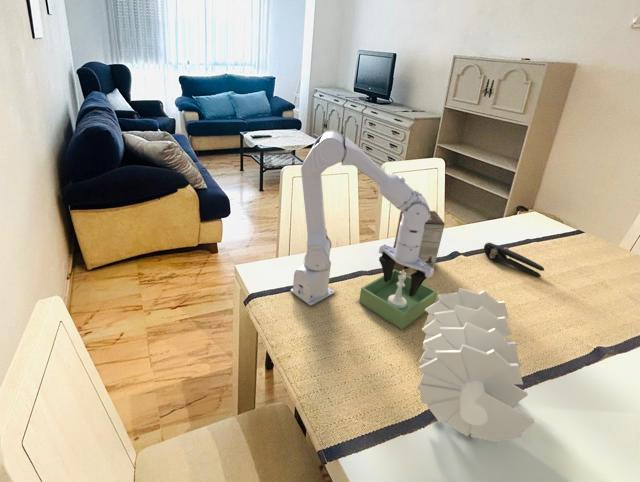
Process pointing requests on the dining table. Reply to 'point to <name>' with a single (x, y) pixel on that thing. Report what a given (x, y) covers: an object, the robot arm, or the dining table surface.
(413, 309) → the basket
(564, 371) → the dining table surface
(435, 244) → the coffee box
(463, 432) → the spiral staircase
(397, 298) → the chess piece
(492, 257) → the can opener
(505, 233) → the dining table surface
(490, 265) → the dining table surface
